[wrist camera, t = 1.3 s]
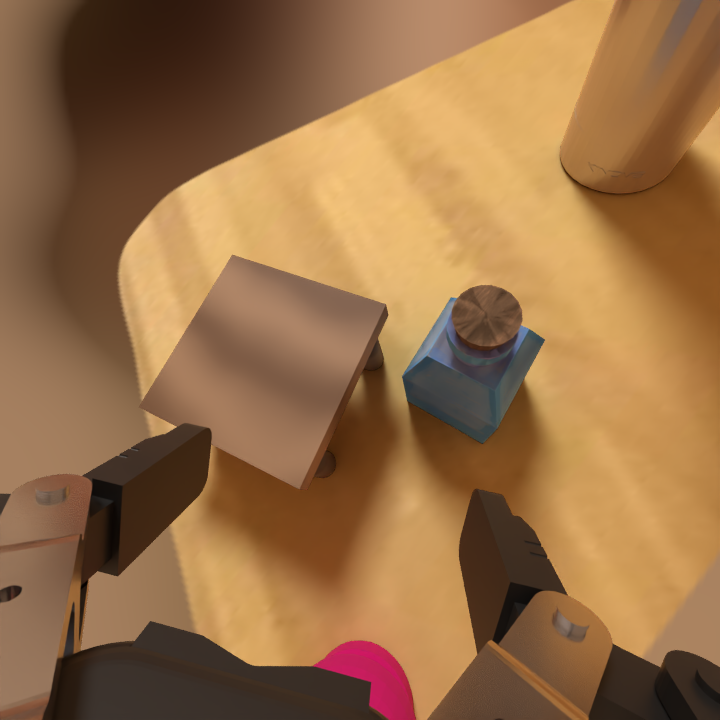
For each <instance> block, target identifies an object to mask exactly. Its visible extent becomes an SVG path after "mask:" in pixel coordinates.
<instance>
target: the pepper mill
mask: <svg viewBox="0 0 720 720" xmlns="http://www.w3.org/2000/svg"><path fill="white" fill-rule="evenodd" d="M314 666H315V667H319V668H322V669H326V670H330V671H333V672H337V673H340V674H344V675H348V676H351V677H355V678H359V679H362V680H366V681H369V682H371V692H370V703H369V706H371V707H372V708H374V709H376V710H377V711H379V712H380V713H381V714H383V715H384V716H385V717H386V718H388V719H389V720H416V718H415V715H414V711H413V699H412V692H411V689H410V685H409V682H408V679H407V677H406V675H405V673H404V671H403V669H402V667H401V666H400V664H399V663H398V662H397V660H396V659H395V658H394V657H393V656H392V655H391V654H390V653H389V652H388V651H387V650H385V649H384V648H382V647H381V646H379V645H377V644H374V643H372V642H367V641H350V642H346V643H344V644H341V645H340V646H338V647H337V648H335V649H334V650H332V651H331V652H330V653H329V654H328V655H327V656H326V657H325V659H323V660H321V661H320V662H318V663H317V664H315V665H314Z"/></svg>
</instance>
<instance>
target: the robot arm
mask: <svg viewBox="0 0 720 720" xmlns="http://www.w3.org/2000/svg"><path fill="white" fill-rule="evenodd" d="M719 107H720V0H615V3H614V5H613V8H612V11H611V13H610V16H609V19H608V21H607V24H606V27H605V29H604V32H603V35H602V37H601V40H600V43H599V45H598V48H597V51H596V53H595V56H594V59H593V61H592V64H591V67H590V69H589V72H588V75H587V77H586V80H585V83H584V85H583V88H582V90H581V93H580V96H579V98H578V101H577V103H576V106H575V109H574V111H573V114H572V117H571V119H570V122H569V125H568V128H567V130H566V133H565V136H564V138H563V141H562V144H561V146H560V158H561V162H562V164H563V166H564V168H565V170H566V171H567V172H568V174H569V175H570V176H571V177H572V178H573V179H575V180H576V181H578V182H579V183H580V184H582V185H584V186H587V187H589V188H591V189H594V190H598V191H601V192H607V193H616V194H618V193H632V192H638V191H642V190H645V189H648V188H650V187H653V186H654V185H656V184H658V183H659V182H661V181H663V180H664V179H665V178H666V177H667V176H668V175H669V174H670V173H671V171H672V170H673V169H674V167H675V166H676V165H677V163H678V162H679V161H680V159H681V158H682V156H683V155H684V154H685V152H686V151H687V150H688V148H689V147H690V146H691V144H692V143H693V142H694V140H695V139H696V138H697V136H698V135H699V134H700V133H701V131H702V130H703V129H704V127H705V126H706V125H707V123H708V122H709V120H710V119H711V118H712V116H713V115H714V114H715V112H716V111H717V110H718V108H719ZM211 440H212V432H211V429H210V428H207V427H203V426H198V425H194V424H189V423H183V424H181V425H180V426H178V427H176V428H175V429H173V430H171V431H170V432H168V433H166V434H165V435H164V434H162V435H159V436H155V437H152V438H148V439H145V440H144V441H142V442H140V443H138V444H136V445H135V446H133V447H131V449H128V450H126V451H124V452H123V453H121V454H120V455H119V456H116V457H114V458H112V459H111V460H109V461H107V462H105V463H103V464H102V465H100V466H98V467H97V468H95V469H93V470H91V471H90V472H88V473H86V474H84V475H83V476H80V475H74V474H57V475H50V476H46V477H41V478H38V479H35V480H32V481H30V482H27V483H25V484H23V485H21V486H20V487H18V488H17V489H15V490H14V491H13V492H12V494H0V720H389V719H388V718H386V717H385V716H384V715H383V714H381V713H380V712H379V711H377V710H376V709H374V708H372V707H371V706H369V703H370V692H371V682H369V681H366V680H362V679H359V678H355V677H351V676H348V675H344V674H340V673H337V672H333V671H330V670H326V669H322V668H319V667H315V666H253V665H250V664H248V663H246V662H244V661H242V660H241V659H239V658H238V657H236V656H234V655H233V654H231V653H230V652H228V651H226V650H225V649H223V648H222V647H220V646H218V645H217V644H215V643H214V642H212V641H210V640H209V639H207V638H206V637H204V636H202V635H199V634H195V633H191V632H188V631H184V630H180V629H177V628H173V627H170V626H166V625H163V624H159V623H155V622H151V621H150V622H149V624H148V625H147V626H146V627H145V629H144V630H143V631H142V633H141V634H140V635H139V636H138V638H137V639H136V640H135V641H125V642H116V643H110V644H105V645H100V646H96V647H93V648H89V649H86V650H83V651H81V644H82V637H83V629H84V621H85V614H86V606H87V599H88V591H89V578H90V577H91V576H92V575H94V574H95V573H96V572H97V571H99V572H103V573H107V574H111V575H114V576H119V575H120V574H121V573H122V572H123V571H124V570H125V569H126V568H127V567H128V566H129V565H130V564H131V563H132V562H133V561H134V560H135V559H136V558H137V557H138V556H139V555H140V554H141V553H142V552H143V551H144V550H145V549H146V548H147V547H148V546H149V545H150V544H151V543H152V542H153V541H154V540H155V539H156V538H157V537H158V536H159V535H160V534H161V533H162V532H163V531H164V530H165V529H166V528H167V527H168V526H169V525H170V524H171V523H172V522H173V521H174V520H175V519H176V518H177V517H178V516H179V515H180V514H181V513H182V512H183V511H184V510H185V509H186V508H187V507H188V506H189V505H190V504H191V503H192V502H193V501H194V500H195V499H196V498H197V497H198V496H199V495H200V493H201V492H202V490H203V488H204V486H205V484H206V481H207V477H208V468H209V459H210V449H211ZM459 561H460V566H461V571H462V576H463V581H464V587H465V592H466V597H467V602H468V607H469V613H470V618H471V623H472V628H473V633H474V639H475V644H476V649H477V654H478V655H477V656H476V657H475V659H474V660H473V661H472V663H471V664H470V665H469V666H468V668H467V669H466V670H465V672H464V673H463V674H462V676H461V677H460V678H459V679H458V681H457V682H456V683H455V685H454V686H453V687H452V688H451V690H450V691H449V692H448V694H447V695H446V696H445V697H444V699H443V700H442V701H441V703H440V704H439V705H438V706H437V708H436V709H435V710H434V712H433V713H432V714H431V715H430V717H429V718H428V719H427V720H720V667H718V666H717V665H715V664H713V663H712V662H710V661H708V660H706V659H704V658H702V657H700V656H697V655H695V654H692V653H689V652H685V651H679V650H675V651H670V652H668V653H667V655H666V656H665V658H664V660H663V663H662V665H661V667H658V666H656V665H654V664H652V663H650V662H648V661H646V660H644V659H642V658H640V657H638V656H636V655H634V654H632V653H630V652H628V651H626V650H623V649H622V648H620V647H618V646H616V645H614V644H613V643H612V638H611V635H610V633H609V631H608V629H607V627H606V626H605V625H604V623H603V622H602V621H601V620H600V619H599V617H598V616H597V615H595V614H594V613H593V612H592V611H591V610H590V609H589V608H587V607H586V606H585V605H583V604H582V603H580V602H579V601H577V600H575V599H573V598H571V597H569V596H568V595H567V593H566V591H565V589H564V587H563V585H562V583H561V581H560V579H559V578H558V576H557V574H556V572H555V570H554V568H553V566H552V564H551V562H550V560H549V559H547V555H546V553H545V551H544V549H543V547H541V543H540V541H539V539H538V537H537V536H536V534H535V532H534V530H533V529H532V528H531V527H530V526H529V525H528V524H527V523H526V522H525V521H524V520H523V519H522V518H521V517H518V516H514V515H512V513H511V511H510V509H509V507H508V505H507V503H506V501H505V498H504V496H503V495H501V494H497V493H492V492H488V491H483V490H479V489H475V490H474V491H473V493H472V496H471V500H470V504H469V507H468V511H467V515H466V519H465V522H464V526H463V530H462V533H461V538H460V544H459Z"/></svg>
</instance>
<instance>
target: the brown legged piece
mask: <svg viewBox="0 0 720 720" xmlns="http://www.w3.org/2000/svg"><path fill="white" fill-rule="evenodd" d="M387 317H388V311H387V307H386V304H383V303H380V302H377V301H374V300H371V299H368V298H365V297H362V296H358V295H355V294H352V293H349V292H346V291H343V290H340V289H337V288H334V287H331V286H327V285H324V284H321V283H318V282H315V281H312V280H309V279H306V278H303V277H300V276H297V275H293V274H290V273H287V272H284V271H281V270H278V269H275V268H272V267H269V266H266V265H262V264H259V263H256V262H253V261H250V260H247V259H244V258H241V257H238V256H235V255H232V256H231V258H230V259H229V261H228V263H227V264H226V266H225V268H224V269H223V271H222V272H221V274H220V276H219V277H218V279H217V281H216V282H215V284H214V285H213V287H212V289H211V290H210V292H209V294H208V295H207V297H206V298H205V300H204V302H203V303H202V305H201V307H200V308H199V310H198V311H197V313H196V315H195V316H194V318H193V320H192V321H191V323H190V324H189V326H188V328H187V329H186V331H185V333H184V334H183V336H182V337H181V339H180V341H179V342H178V344H177V346H176V347H175V349H174V350H173V352H172V354H171V355H170V357H169V359H168V360H167V362H166V364H165V365H164V367H163V368H162V370H161V372H160V373H159V375H158V377H157V378H156V380H155V381H154V383H153V385H152V386H151V388H150V390H149V391H148V393H147V394H146V396H145V398H144V399H143V401H142V403H141V404H140V406H139V407H140V408H142V409H144V410H146V411H147V412H149V413H151V414H153V415H155V416H157V417H159V418H161V419H163V420H165V421H167V422H169V423H171V424H173V425H175V426H177V427H178V426H180V425H181V424H183V423H189V424H194V425H198V426H203V427H207V428H210V429H211V432H212V440H211V444H212V445H214V446H216V447H218V448H220V449H221V450H223V451H225V452H227V453H229V454H231V455H233V456H235V457H237V458H239V459H241V460H243V461H245V462H247V463H249V464H251V465H253V466H255V467H257V468H258V469H260V470H262V471H264V472H266V473H268V474H270V475H272V476H274V477H276V478H278V479H280V480H282V481H284V482H286V483H288V484H290V485H292V486H294V487H295V488H297V489H300V490H308V488H309V486H310V483H311V481H312V479H313V477H319V478H325V477H328V476H330V475H331V474H332V473H333V471H334V470H335V466H336V460H335V457H334V456H333V454H332V453H330V452H329V451H327V450H326V449H327V447H328V444H329V442H330V440H331V438H332V436H333V434H334V432H335V429H336V427H337V425H338V423H339V421H340V419H341V416H342V414H343V412H344V410H345V408H346V406H347V403H348V401H349V399H350V397H351V395H352V393H353V390H354V388H355V386H356V384H357V382H358V380H359V378H360V375H361V373H362V371H363V369H366V370H370V371H371V370H376V369H378V368H379V367H380V366H381V365H382V363H383V359H384V358H383V353H382V350H381V347H380V344H379V341H378V336H379V334H380V332H381V330H382V328H383V326H384V324H385V321H386V319H387Z"/></svg>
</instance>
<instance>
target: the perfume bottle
mask: <svg viewBox="0 0 720 720" xmlns="http://www.w3.org/2000/svg"><path fill="white" fill-rule="evenodd" d="M521 323H522V309H521V307H520V305H519V302H518V301H517V300H516V299H515V297H514V296H513V295H512V294H511V293H509V292H507V291H506V290H504V289H502V288H499V287H496V286H492V285H480V286H476V287H473V288H470V289H468V290H466V291H465V292H463V293H462V294H461V295H460V296H459V297H458V298H452V297H451V298H450V300H449V302H448V303H447V305H446V306H445V308H444V310H443V311H442V313H441V315H440V316H439V318H438V319H437V321H436V323H435V324H434V326H433V327H432V329H431V331H430V332H429V334H428V335H427V337H426V339H425V340H424V342H423V344H422V345H421V347H420V348H419V350H418V352H417V353H416V355H415V356H414V358H413V360H412V361H411V363H410V365H409V366H408V368H407V369H406V371H405V373H404V374H403V376H402V378H403V383H404V388H405V392H406V397H407V401H408V402H410V403H412V404H414V405H415V406H417V407H419V408H421V409H422V410H424V411H426V412H428V413H429V414H431V415H433V416H435V417H437V418H438V419H440V420H442V421H444V422H445V423H447V424H449V425H451V426H452V427H454V428H456V429H458V430H459V431H461V432H463V433H465V434H466V435H468V436H470V437H472V438H473V439H475V440H477V441H479V442H480V443H482V444H483V443H484V442H485V441H486V440H487V439H488V438H489V437H490V436H491V435H492V434H493V433H494V431H495V430H496V429H497V428H498V426H499V424H500V423H501V421H502V419H503V417H504V415H505V413H506V411H507V410H508V408H509V406H510V404H511V402H512V400H513V398H514V397H515V395H516V393H517V391H518V389H519V387H520V385H521V384H522V382H523V380H524V378H525V376H526V374H527V372H528V371H529V369H530V367H531V365H532V363H533V361H534V359H535V358H536V356H537V354H538V352H539V350H540V348H541V346H542V345H543V343H544V341H545V339H543V338H542V337H540V336H539V335H537V334H536V333H534V332H533V331H531V330H530V329H528V328H526V327H523V326H521Z"/></svg>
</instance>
